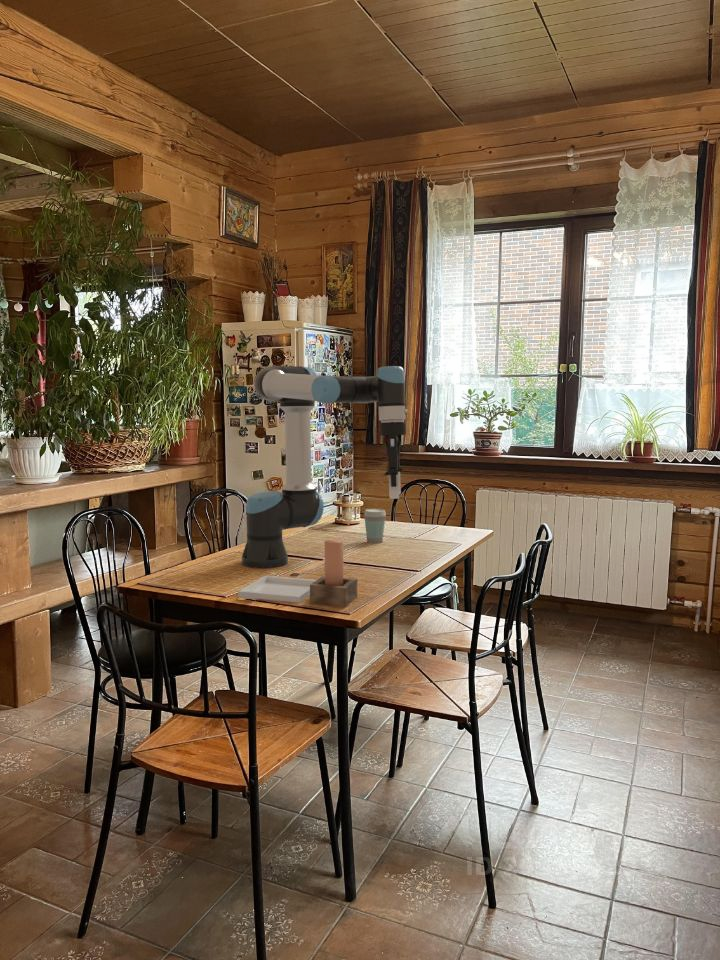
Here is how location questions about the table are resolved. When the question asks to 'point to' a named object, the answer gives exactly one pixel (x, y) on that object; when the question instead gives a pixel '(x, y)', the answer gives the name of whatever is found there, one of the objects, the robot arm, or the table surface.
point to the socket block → (333, 592)
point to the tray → (277, 589)
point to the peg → (334, 562)
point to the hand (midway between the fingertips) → (395, 496)
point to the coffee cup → (374, 525)
